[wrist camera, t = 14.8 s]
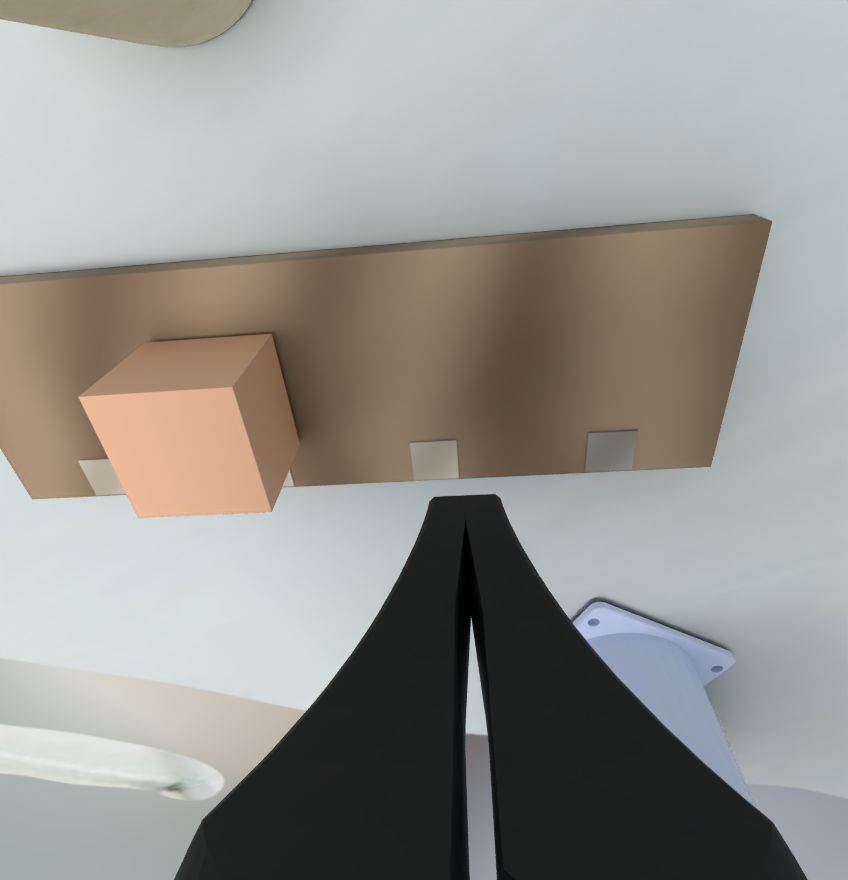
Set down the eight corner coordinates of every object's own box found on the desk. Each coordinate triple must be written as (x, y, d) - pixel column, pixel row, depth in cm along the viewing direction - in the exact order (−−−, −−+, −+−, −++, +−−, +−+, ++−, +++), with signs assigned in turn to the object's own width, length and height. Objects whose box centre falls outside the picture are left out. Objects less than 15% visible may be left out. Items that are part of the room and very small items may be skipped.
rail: (753, 214, 15) (774, 221, 14) (699, 450, 19) (711, 468, 18) (-70, 282, 17) (-100, 293, 16) (48, 483, 21) (30, 500, 20)
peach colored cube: (271, 333, 16) (232, 387, 13) (300, 444, 18) (271, 512, 15) (144, 342, 16) (78, 397, 13) (187, 450, 18) (138, 517, 16)
